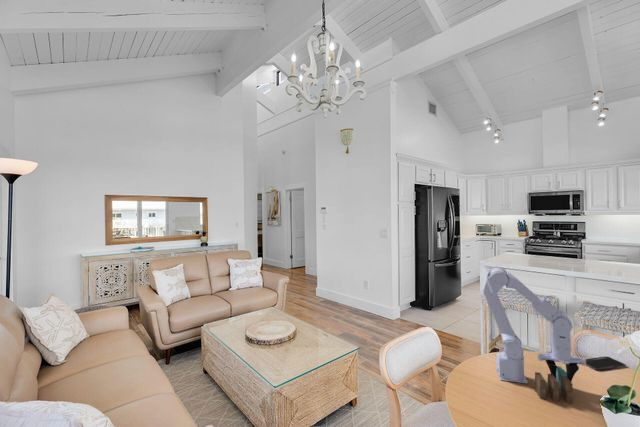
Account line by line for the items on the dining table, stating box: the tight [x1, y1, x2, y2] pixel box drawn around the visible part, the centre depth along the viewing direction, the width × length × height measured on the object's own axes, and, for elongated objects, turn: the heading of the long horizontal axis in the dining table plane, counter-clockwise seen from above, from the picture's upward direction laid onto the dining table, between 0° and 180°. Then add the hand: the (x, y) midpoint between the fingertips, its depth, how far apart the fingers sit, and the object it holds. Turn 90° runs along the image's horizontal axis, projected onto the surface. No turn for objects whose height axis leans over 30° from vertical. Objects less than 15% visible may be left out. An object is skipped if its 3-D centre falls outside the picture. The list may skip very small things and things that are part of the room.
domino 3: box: [560, 375, 574, 405], centre depth 108 cm, size 2×5×7 cm, turn 161°
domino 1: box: [534, 371, 546, 400], centre depth 110 cm, size 2×5×7 cm, turn 161°
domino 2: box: [547, 373, 560, 402], centre depth 109 cm, size 2×5×7 cm, turn 161°
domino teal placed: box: [556, 365, 567, 390], centre depth 114 cm, size 2×5×7 cm, turn 161°
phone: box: [584, 355, 627, 372], centre depth 128 cm, size 8×1×15 cm
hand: (561, 380), depth 114 cm, fingers open, 4 cm apart
